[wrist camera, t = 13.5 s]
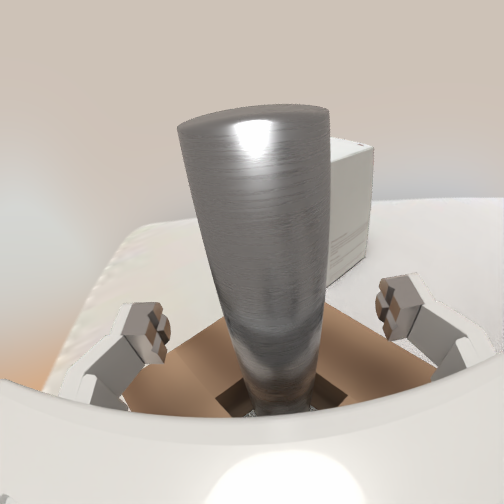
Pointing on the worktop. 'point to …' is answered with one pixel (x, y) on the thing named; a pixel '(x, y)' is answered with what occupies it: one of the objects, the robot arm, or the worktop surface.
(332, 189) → the supplement box
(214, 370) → the collar block
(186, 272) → the worktop surface
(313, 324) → the long pin
